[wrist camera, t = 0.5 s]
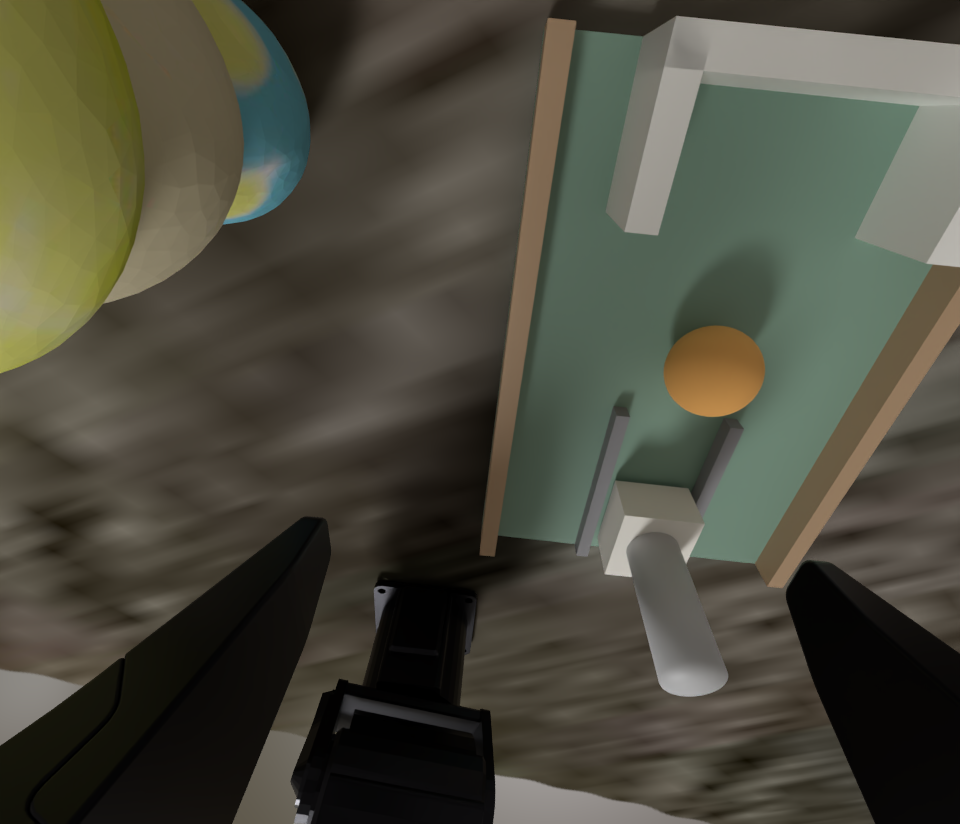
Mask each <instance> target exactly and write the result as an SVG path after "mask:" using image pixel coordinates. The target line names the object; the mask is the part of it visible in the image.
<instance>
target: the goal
mask: <svg viewBox="0 0 960 824" xmlns="http://www.w3.org/2000/svg"><path fill="white" fill-rule="evenodd" d="M700 83H701V84H711V85H720V86H730V87H740V88H750V89H759V90H769V91H779V92H788V93H798V94H808V95H818V96H827V97H837V98H847V99H857V100H866V101H876V102H886V103H895V104H905V105H915V106H919V108H918V110H917V112H916V114H915V116H914V118H913V120H912V122H911V124H910V126H909V128H908V130H907V132H906V134H905V136H904V138H903V140H902V142H901V144H900V146H899V148H898V150H897V153H896V155H895V157H894V159H893V161H892V163H891V165H890V167H889V169H888V171H887V173H886V175H885V177H884V179H883V181H882V183H881V185H880V187H879V189H878V191H877V193H876V195H875V197H874V199H873V201H872V203H871V205H870V207H869V209H868V211H867V213H866V215H865V217H864V219H863V222H862V224H861V226H860V228H859V230H858V232H857V234H856V236H855V238H856V239H859V240H862V241H864V242H867V243H870V244H873V245H875V246H878V247H881V248H884V249H887V250H889V251H892V252H895V253H898V254H901V255H903V256H906V257H909V258H912V259H915V260H917V261H920V262H923V263H926V264H934V265H944V266H953V267H960V45H957V44H947V43H938V42H928V41H918V40H908V39H898V38H888V37H879V36H869V35H859V34H849V33H839V32H830V31H820V30H810V29H800V28H790V27H781V26H771V25H761V24H751V23H741V22H731V21H722V20H712V19H702V18H692V17H682V16H675V17H674V18H672V19H671V20H669V21H667V22H666V23H664V24H662V25H661V26H659V27H658V28H656V29H654V30H653V31H651V32H650V33H648V34H646V35H645V36H643V39H642V44H641V48H640V53H639V58H638V62H637V67H636V72H635V76H634V81H633V86H632V90H631V95H630V100H629V104H628V109H627V114H626V118H625V123H624V128H623V132H622V137H621V142H620V146H619V151H618V156H617V160H616V165H615V170H614V174H613V179H612V184H611V188H610V193H609V198H608V202H607V207H606V211H605V212H606V213H607V214H608V215H609V216H610V217H611V218H612V219H613V220H614V222H615V223H616V224H617V225H618V226H619V227H620V228H621V229H622V230H623V231H624V232H629V233H638V234H648V235H657V236H658V233H659V230H660V226H661V223H662V219H663V215H664V212H665V208H666V205H667V201H668V197H669V194H670V190H671V186H672V183H673V179H674V176H675V172H676V168H677V165H678V161H679V158H680V154H681V150H682V147H683V143H684V140H685V136H686V132H687V129H688V125H689V122H690V118H691V114H692V111H693V107H694V104H695V100H696V96H697V93H698V89H699V86H700Z"/></svg>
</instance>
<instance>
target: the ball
mask: <svg viewBox="0 0 960 824" xmlns="http://www.w3.org/2000/svg"><path fill="white" fill-rule="evenodd" d="M764 376H765V363H764V358H763V355H762V353H761V351H760V349H759V347H758V346H757V344H756V343H755V342H754V341H753V340H752V339H751V338H750V337H749V336H747V335H746V334H744V333H743V332H741V331H739V330H737V329H734V328H731V327H726V326H716V325H715V326H706V327H701V328H698V329H695V330H693V331H691V332H689V333H687V334H686V335H684V336H683V337H681V338H680V339H679V340H678V341H677V342H676V343H675V344H674V345H673V347H672V348H671V350H670V351H669V353H668V355H667V358H666V360H665V364H664V382H665V385H666V388H667V390H668V392H669V394H670V396H671V397H672V398H673V400H674V401H675V402H676V403H677V404H678V405H680V406H681V407H682V408H684V409H685V410H687V411H689V412H691V413H693V414H697V415H700V416H706V417H719V416H725V415H729V414H732V413H734V412H736V411H739V410H740V409H742V408H744V407H745V406H746V405H748V404H749V403H750V402H751V401H752V400H753V399H754V398H755V396H756V395H757V394H758V392H759V390H760V388H761V386H762V384H763V381H764Z"/></svg>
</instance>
